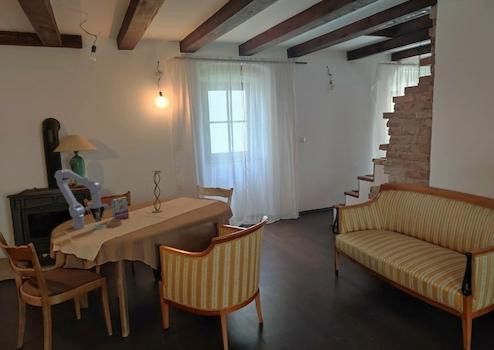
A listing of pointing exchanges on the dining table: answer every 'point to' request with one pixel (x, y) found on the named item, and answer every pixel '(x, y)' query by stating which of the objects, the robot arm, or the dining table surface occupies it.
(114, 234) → the dining table surface
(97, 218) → the cell
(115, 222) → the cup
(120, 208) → the candy bar box
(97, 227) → the checker
